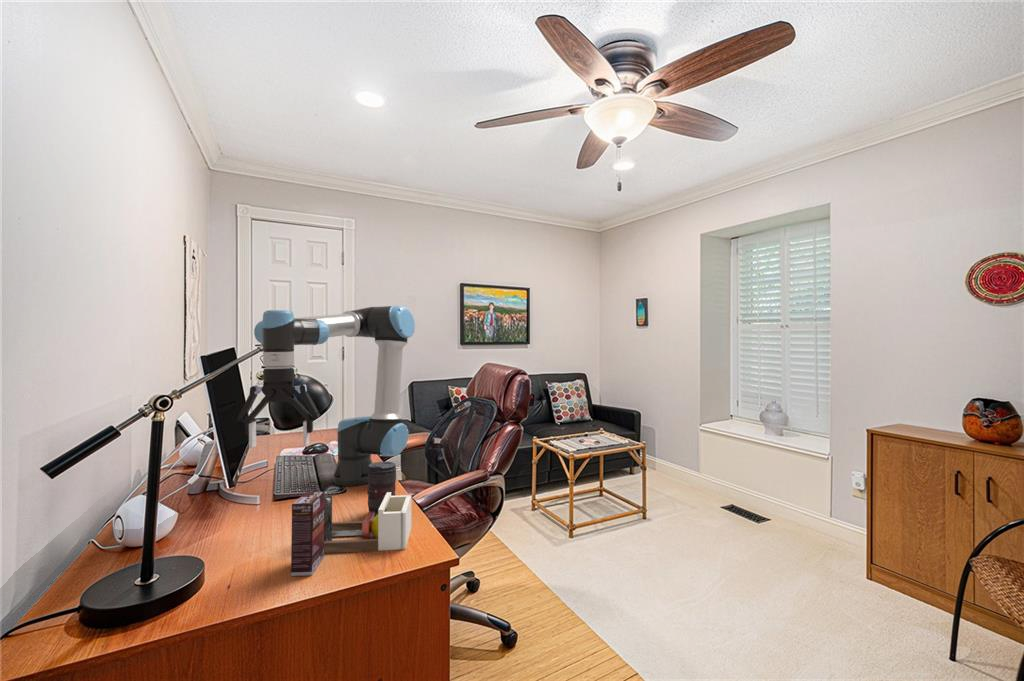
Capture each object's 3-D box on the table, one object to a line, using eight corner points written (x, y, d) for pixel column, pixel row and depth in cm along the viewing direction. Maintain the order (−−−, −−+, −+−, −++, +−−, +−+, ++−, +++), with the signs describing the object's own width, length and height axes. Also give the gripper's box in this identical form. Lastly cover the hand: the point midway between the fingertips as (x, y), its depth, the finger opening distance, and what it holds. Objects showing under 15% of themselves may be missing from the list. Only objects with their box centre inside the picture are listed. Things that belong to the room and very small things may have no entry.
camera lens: (388, 521, 130) (388, 468, 130) (362, 519, 132) (362, 467, 132) (400, 510, 138) (400, 461, 138) (376, 508, 140) (376, 460, 140)
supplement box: (312, 576, 100) (312, 503, 100) (290, 577, 99) (290, 504, 99) (325, 557, 108) (325, 490, 108) (304, 558, 108) (304, 491, 108)
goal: (386, 528, 125) (386, 492, 125) (411, 527, 126) (411, 491, 126) (378, 550, 112) (378, 509, 112) (405, 549, 113) (405, 508, 113)
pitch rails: (322, 531, 123) (322, 522, 123) (386, 528, 125) (386, 519, 125) (306, 554, 110) (306, 544, 110) (378, 550, 112) (378, 540, 112)
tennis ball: (365, 543, 116) (365, 515, 116) (381, 532, 123) (381, 506, 123) (389, 547, 114) (389, 519, 114) (404, 535, 121) (404, 509, 121)
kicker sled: (321, 534, 120) (321, 492, 121) (374, 532, 122) (374, 491, 122) (312, 548, 113) (312, 503, 113) (368, 545, 114) (368, 501, 114)
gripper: (222, 369, 117) (223, 451, 117) (323, 367, 121) (324, 447, 121) (235, 367, 125) (236, 444, 125) (330, 365, 128) (331, 440, 129)
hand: (279, 446), depth 123 cm, fingers open, 13 cm apart
